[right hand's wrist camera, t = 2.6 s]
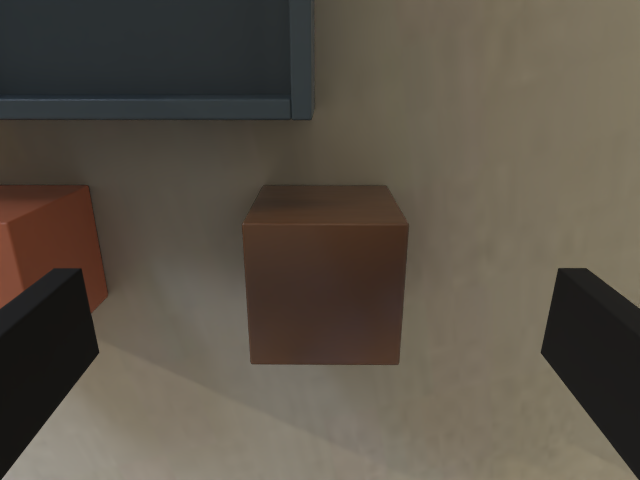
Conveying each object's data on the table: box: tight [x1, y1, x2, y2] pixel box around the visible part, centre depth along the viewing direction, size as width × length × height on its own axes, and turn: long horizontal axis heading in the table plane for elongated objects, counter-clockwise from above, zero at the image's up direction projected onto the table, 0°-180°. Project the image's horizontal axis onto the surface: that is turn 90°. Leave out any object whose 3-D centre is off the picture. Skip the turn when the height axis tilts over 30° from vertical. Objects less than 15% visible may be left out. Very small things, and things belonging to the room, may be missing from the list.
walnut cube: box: [242, 186, 409, 365], centre depth 17 cm, size 5×5×5 cm
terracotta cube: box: [0, 185, 108, 313], centre depth 17 cm, size 5×5×5 cm
